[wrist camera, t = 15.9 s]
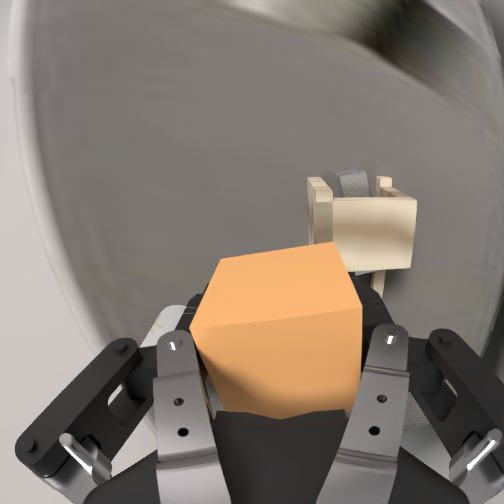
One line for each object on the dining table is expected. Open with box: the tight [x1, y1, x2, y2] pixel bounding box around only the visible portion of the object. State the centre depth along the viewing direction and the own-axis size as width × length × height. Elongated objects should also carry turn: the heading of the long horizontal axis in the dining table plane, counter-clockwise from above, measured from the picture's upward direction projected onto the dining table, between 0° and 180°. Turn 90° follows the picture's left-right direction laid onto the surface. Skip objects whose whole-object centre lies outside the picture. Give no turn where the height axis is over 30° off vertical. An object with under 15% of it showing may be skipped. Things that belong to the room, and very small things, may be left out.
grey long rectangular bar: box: [334, 168, 378, 276], centre depth 32 cm, size 12×3×4 cm, turn 15°
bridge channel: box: [307, 176, 417, 299], centre depth 32 cm, size 23×10×8 cm, turn 5°
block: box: [189, 242, 362, 419], centre depth 11 cm, size 5×5×5 cm
